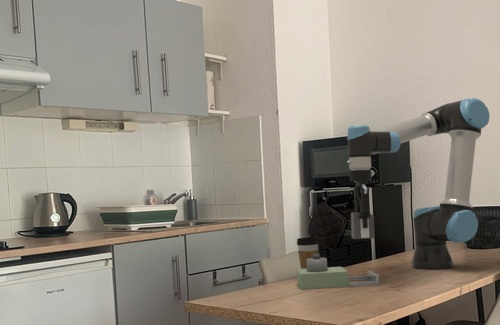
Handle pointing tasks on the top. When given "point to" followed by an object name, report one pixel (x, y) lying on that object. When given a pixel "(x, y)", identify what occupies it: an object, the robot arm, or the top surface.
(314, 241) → the coffee cup
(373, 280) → the chute bracket
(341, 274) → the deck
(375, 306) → the top surface
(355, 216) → the grey block
